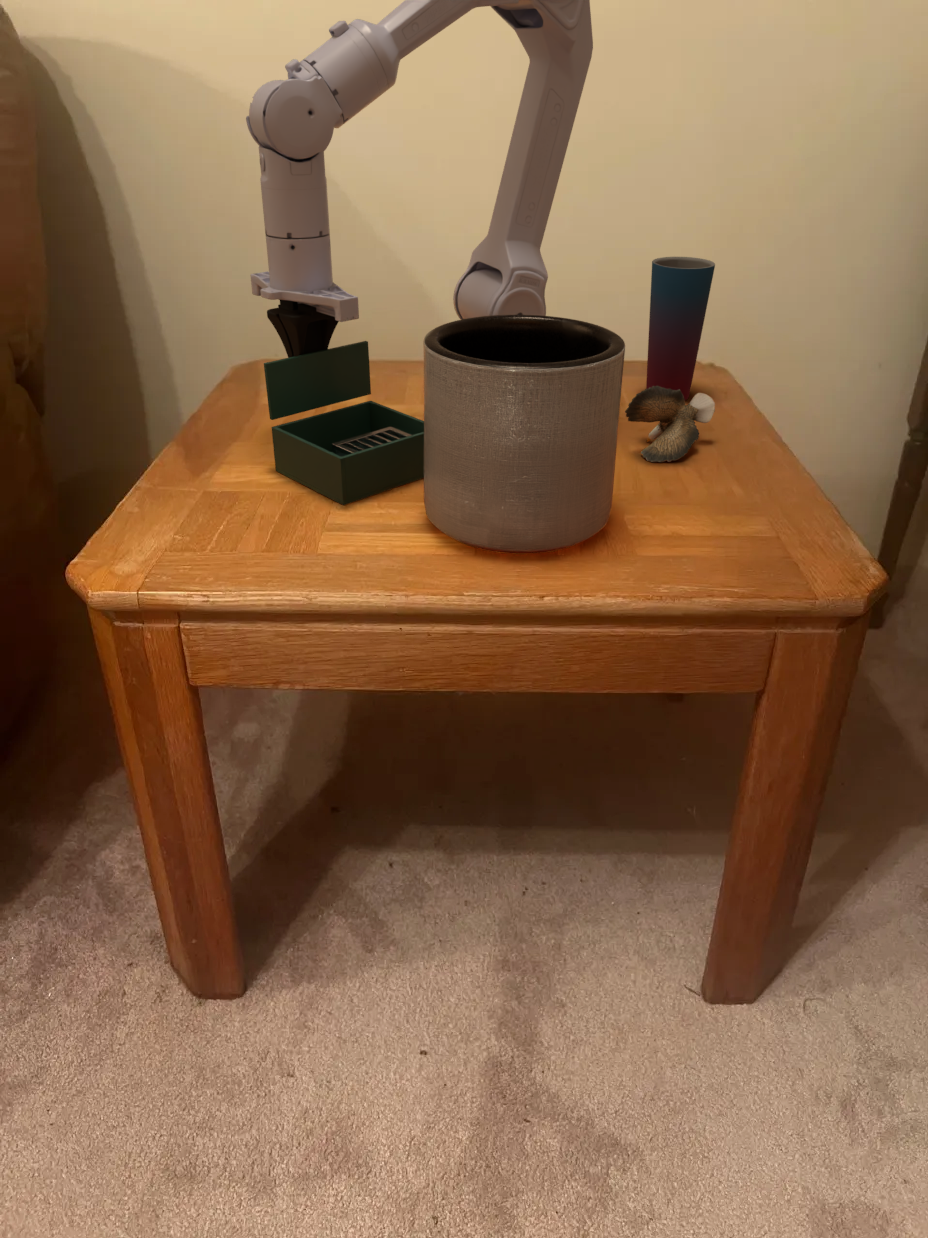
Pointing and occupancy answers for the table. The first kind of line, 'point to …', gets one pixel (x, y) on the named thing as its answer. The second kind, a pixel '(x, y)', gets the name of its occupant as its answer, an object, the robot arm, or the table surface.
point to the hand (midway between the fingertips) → (309, 383)
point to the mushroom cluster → (670, 420)
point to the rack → (367, 441)
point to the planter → (520, 430)
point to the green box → (358, 474)
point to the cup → (676, 320)
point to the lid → (317, 379)
